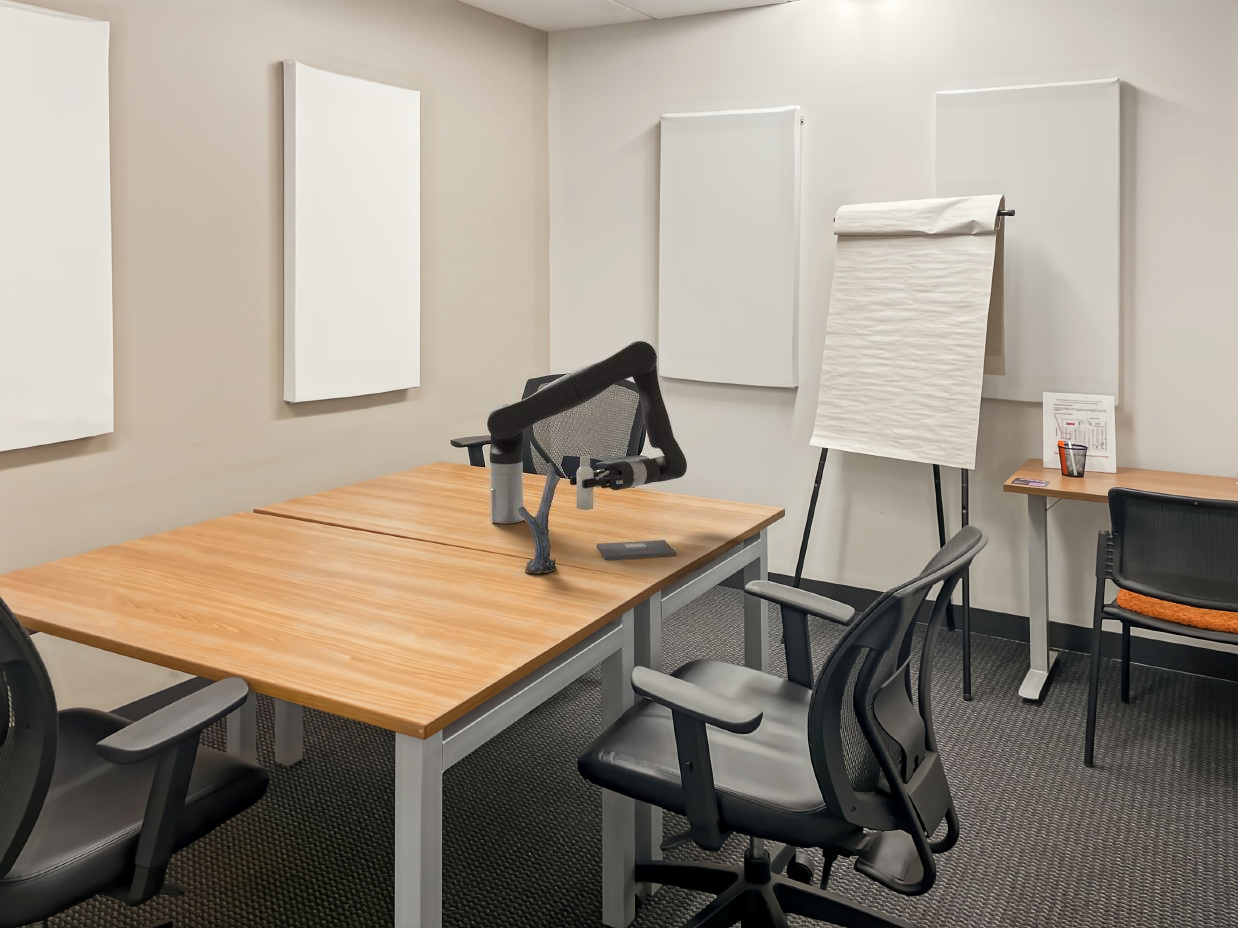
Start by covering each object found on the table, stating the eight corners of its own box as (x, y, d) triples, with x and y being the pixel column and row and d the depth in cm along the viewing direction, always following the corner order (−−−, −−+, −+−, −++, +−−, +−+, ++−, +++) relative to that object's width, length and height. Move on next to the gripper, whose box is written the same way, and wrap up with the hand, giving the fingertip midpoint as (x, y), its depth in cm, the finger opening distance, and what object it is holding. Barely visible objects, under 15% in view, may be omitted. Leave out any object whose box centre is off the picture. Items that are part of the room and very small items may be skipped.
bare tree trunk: (544, 577, 224) (542, 471, 220) (515, 572, 228) (513, 468, 223) (568, 564, 234) (567, 463, 230) (540, 560, 238) (539, 460, 233)
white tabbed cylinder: (577, 510, 249) (578, 458, 246) (575, 506, 253) (575, 455, 251) (594, 509, 250) (595, 458, 247) (591, 505, 254) (592, 455, 251)
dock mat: (605, 560, 238) (605, 553, 238) (596, 547, 250) (596, 541, 249) (676, 555, 242) (676, 549, 241) (664, 543, 253) (664, 537, 253)
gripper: (608, 457, 264) (559, 464, 253) (644, 464, 254) (595, 472, 242) (607, 483, 265) (559, 492, 254) (643, 492, 255) (594, 501, 244)
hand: (577, 482), depth 248 cm, fingers closed on white tabbed cylinder, 4 cm apart
